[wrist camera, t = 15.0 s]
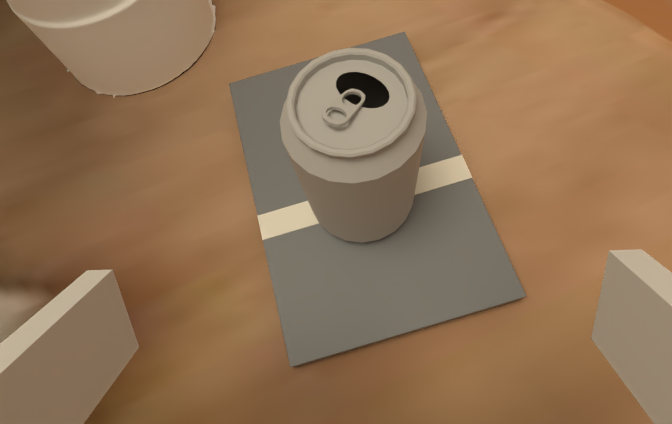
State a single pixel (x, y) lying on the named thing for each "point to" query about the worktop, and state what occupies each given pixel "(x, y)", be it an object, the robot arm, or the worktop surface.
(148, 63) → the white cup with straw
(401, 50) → the board
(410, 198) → the can
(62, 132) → the worktop surface
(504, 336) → the worktop surface
